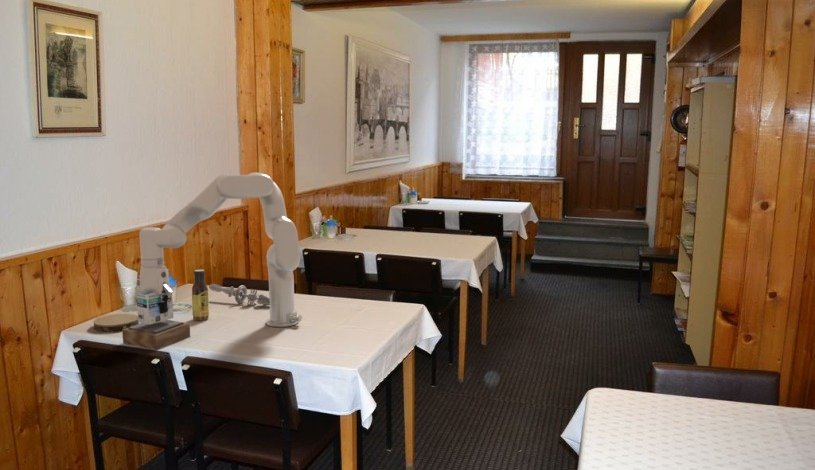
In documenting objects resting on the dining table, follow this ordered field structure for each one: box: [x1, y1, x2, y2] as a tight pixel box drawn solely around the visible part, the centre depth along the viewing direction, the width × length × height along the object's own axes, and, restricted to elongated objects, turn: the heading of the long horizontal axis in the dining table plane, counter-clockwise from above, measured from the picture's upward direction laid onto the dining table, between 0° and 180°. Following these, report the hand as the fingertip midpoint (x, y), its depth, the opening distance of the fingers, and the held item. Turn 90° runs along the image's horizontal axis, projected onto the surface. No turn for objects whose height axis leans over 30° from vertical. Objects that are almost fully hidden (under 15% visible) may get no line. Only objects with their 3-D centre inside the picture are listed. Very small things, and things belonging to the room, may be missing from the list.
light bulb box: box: [136, 288, 174, 325], centre depth 238 cm, size 11×7×11 cm, turn 148°
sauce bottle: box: [191, 269, 210, 322], centre depth 264 cm, size 7×6×20 cm
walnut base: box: [121, 319, 191, 351], centre depth 240 cm, size 16×16×6 cm
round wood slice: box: [93, 313, 140, 333], centre depth 257 cm, size 16×16×3 cm
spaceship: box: [208, 283, 270, 306], centre depth 290 cm, size 8×35×8 cm
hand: (155, 311), depth 238 cm, fingers closed on light bulb box, 7 cm apart
